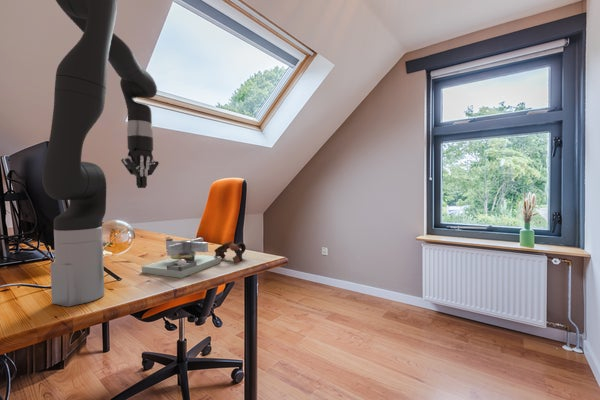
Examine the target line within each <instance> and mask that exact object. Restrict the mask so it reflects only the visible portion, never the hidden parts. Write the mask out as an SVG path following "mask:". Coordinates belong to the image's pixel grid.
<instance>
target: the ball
mask: <svg viewBox="0 0 600 400" xmlns="http://www.w3.org/2000/svg"><path fill="white" fill-rule="evenodd" d="M177 264H178V266H182V265H185V264H186V260H184V259H180V260H179V261H178V263H177Z"/></svg>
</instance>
